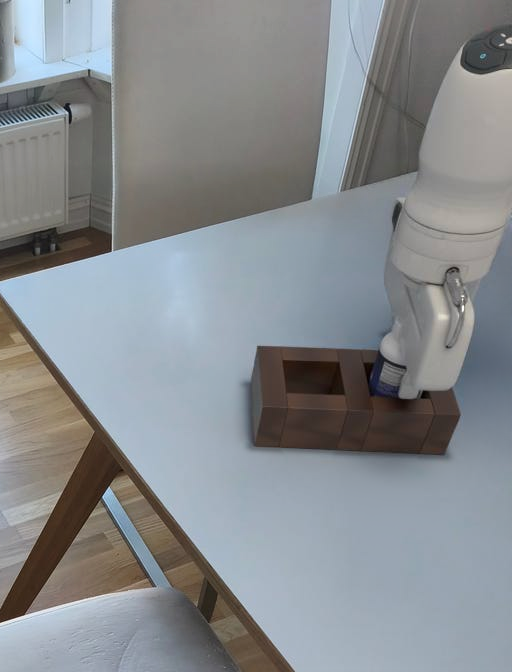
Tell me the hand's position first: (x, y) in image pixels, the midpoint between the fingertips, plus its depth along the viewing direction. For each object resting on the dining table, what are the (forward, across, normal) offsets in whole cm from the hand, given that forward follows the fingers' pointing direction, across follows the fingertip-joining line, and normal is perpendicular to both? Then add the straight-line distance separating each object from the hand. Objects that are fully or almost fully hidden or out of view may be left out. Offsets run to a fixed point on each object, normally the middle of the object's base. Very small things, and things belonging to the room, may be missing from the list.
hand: (400, 374), depth 90 cm
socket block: (+6, 0, +4) cm, 7 cm away
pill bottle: (+4, 0, 0) cm, 4 cm away
